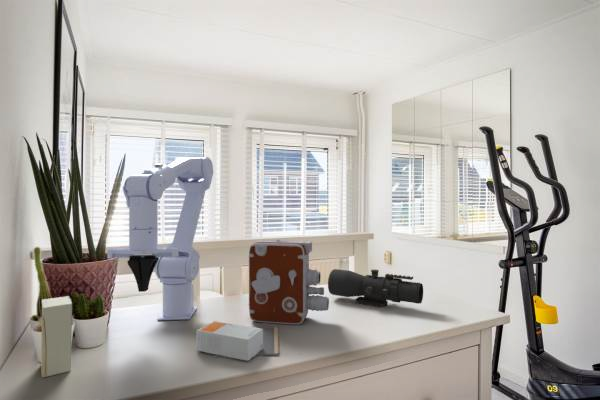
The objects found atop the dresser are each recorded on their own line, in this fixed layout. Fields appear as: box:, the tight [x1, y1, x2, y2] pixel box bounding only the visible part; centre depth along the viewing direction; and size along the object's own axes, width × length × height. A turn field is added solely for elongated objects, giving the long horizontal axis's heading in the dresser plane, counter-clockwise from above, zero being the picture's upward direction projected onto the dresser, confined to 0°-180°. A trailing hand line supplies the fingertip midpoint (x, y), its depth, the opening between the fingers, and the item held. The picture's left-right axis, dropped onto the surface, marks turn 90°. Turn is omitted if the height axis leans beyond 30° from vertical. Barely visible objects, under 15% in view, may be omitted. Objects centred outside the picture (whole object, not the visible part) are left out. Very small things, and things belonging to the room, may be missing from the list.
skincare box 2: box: [195, 320, 263, 362], centre depth 71 cm, size 6×4×12 cm
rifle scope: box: [327, 268, 424, 309], centre depth 102 cm, size 10×26×10 cm, turn 58°
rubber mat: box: [215, 326, 280, 359], centre depth 76 cm, size 14×12×1 cm
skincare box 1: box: [40, 295, 73, 378], centre depth 64 cm, size 6×4×12 cm
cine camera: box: [248, 239, 330, 325], centre depth 89 cm, size 9×19×20 cm, turn 78°
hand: (143, 290), depth 78 cm, fingers closed
